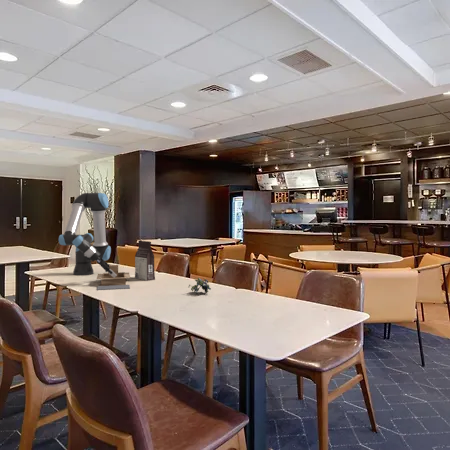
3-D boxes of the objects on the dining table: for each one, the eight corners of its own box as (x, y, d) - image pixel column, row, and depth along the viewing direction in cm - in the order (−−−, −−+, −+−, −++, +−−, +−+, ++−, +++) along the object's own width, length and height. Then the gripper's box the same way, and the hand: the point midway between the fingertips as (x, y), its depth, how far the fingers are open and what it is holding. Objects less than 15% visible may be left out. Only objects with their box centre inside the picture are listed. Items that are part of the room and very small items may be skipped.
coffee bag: (156, 279, 272) (156, 241, 271) (146, 281, 266) (146, 242, 265) (143, 276, 284) (143, 240, 283) (133, 278, 277) (133, 240, 276)
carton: (98, 280, 268) (98, 273, 268) (128, 278, 274) (128, 272, 274) (96, 286, 243) (96, 279, 243) (130, 285, 250) (130, 277, 249)
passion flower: (205, 301, 227) (215, 287, 223) (192, 301, 219) (202, 286, 215) (197, 288, 234) (206, 274, 230) (183, 288, 226) (193, 273, 222)
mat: (97, 286, 243) (97, 286, 243) (129, 285, 249) (129, 284, 249) (97, 290, 232) (97, 289, 232) (130, 288, 238) (130, 287, 238)
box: (109, 282, 261) (109, 265, 260) (118, 281, 262) (118, 264, 262) (109, 283, 255) (109, 266, 255) (118, 283, 257) (118, 265, 256)
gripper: (89, 256, 265) (111, 276, 270) (87, 260, 242) (111, 282, 246) (97, 248, 267) (119, 268, 272) (95, 251, 243) (119, 273, 248)
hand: (115, 275), depth 259 cm, fingers open, 13 cm apart
